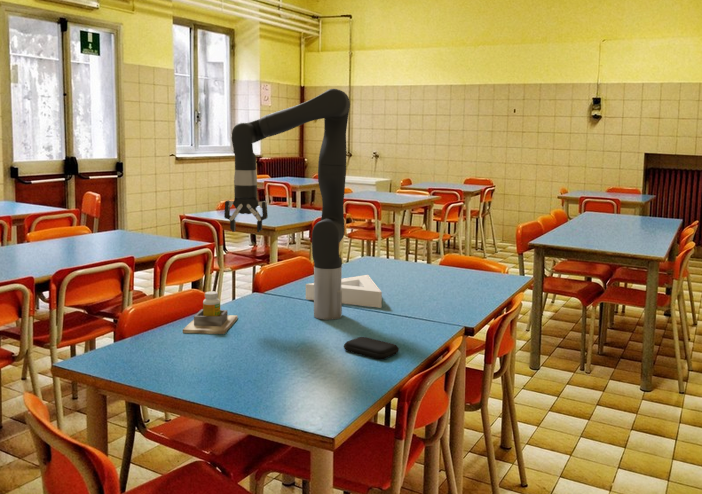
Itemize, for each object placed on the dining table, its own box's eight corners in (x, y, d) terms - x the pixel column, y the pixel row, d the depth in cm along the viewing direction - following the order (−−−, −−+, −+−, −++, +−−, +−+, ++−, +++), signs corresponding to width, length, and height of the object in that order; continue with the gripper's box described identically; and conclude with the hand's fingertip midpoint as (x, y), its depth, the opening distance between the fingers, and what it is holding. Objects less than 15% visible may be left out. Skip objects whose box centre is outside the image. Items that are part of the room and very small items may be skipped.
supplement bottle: (217, 325, 219) (216, 295, 217) (200, 323, 220) (200, 294, 218) (223, 320, 224) (222, 291, 222) (207, 319, 225) (206, 290, 223)
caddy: (237, 318, 230) (237, 306, 230) (224, 334, 213) (224, 321, 212) (199, 317, 231) (198, 305, 231) (182, 332, 213) (182, 320, 213)
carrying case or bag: (403, 353, 198) (362, 343, 207) (404, 343, 197) (363, 333, 206) (382, 362, 190) (340, 351, 199) (382, 352, 189) (340, 341, 198)
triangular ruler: (305, 300, 258) (305, 284, 257) (333, 286, 282) (333, 271, 281) (381, 309, 247) (381, 292, 246) (403, 293, 271) (403, 278, 270)
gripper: (268, 183, 234) (269, 230, 237) (227, 182, 235) (228, 229, 238) (264, 184, 227) (265, 233, 229) (221, 184, 227) (222, 232, 230)
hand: (246, 231), depth 233 cm, fingers open, 8 cm apart
